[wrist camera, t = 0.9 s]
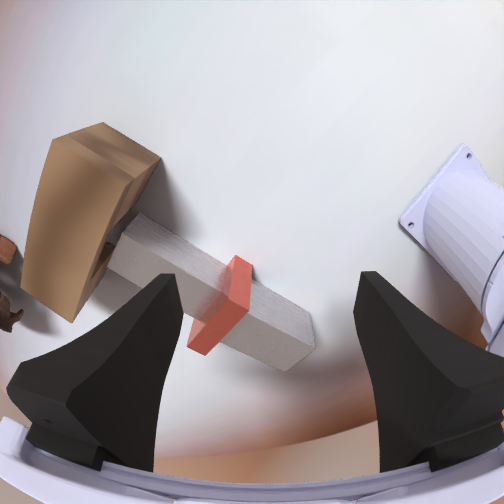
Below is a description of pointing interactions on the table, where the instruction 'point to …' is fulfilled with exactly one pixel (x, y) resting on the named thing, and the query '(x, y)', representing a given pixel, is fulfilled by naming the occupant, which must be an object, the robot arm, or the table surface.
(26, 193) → the table surface
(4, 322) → the brown ringed sculpture
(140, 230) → the grey and red block
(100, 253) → the walnut block
